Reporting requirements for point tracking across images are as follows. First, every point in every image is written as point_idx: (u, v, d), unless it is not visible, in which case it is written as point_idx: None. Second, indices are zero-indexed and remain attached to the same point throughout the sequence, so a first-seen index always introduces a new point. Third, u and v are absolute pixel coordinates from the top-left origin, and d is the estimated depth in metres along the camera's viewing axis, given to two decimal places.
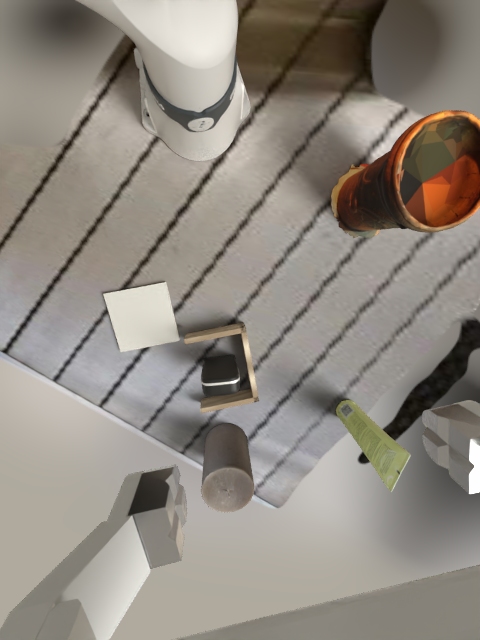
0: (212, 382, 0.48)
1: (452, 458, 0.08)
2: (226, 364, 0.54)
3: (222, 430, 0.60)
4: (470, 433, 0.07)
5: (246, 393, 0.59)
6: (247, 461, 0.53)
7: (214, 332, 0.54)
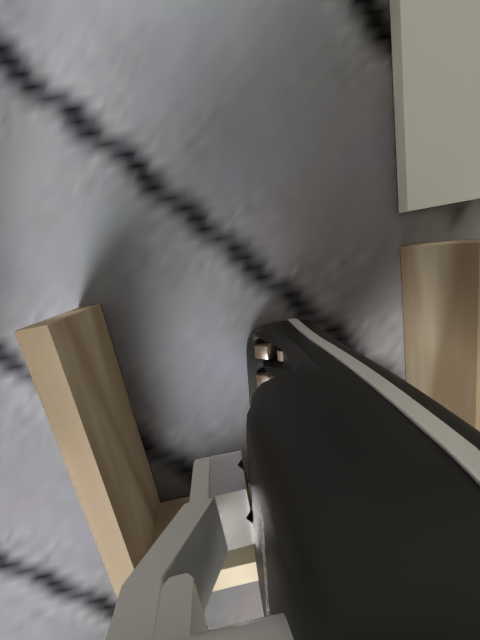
0: None
1: None
2: None
3: None
4: None
5: (147, 514, 0.13)
6: None
7: None
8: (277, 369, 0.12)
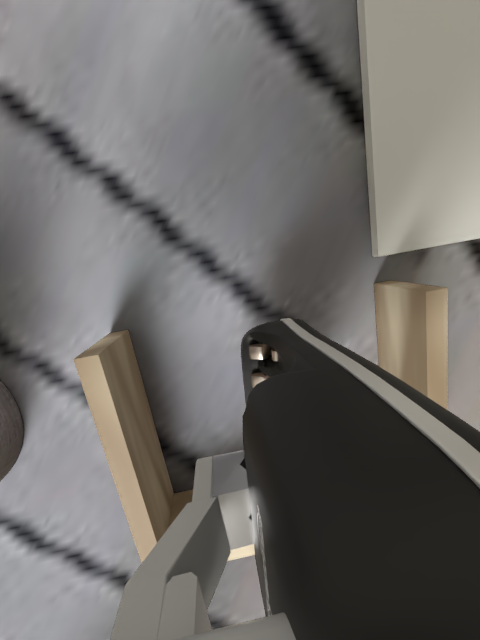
0: None
1: None
2: None
3: None
4: None
5: (165, 502, 0.16)
6: None
7: None
8: (272, 369, 0.12)
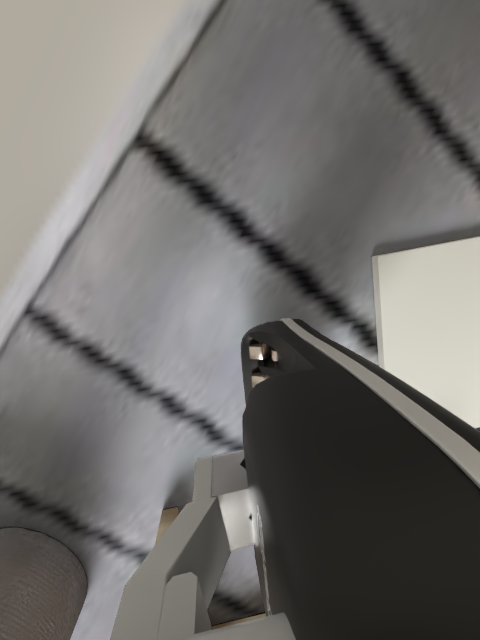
0: None
1: None
2: None
3: (64, 616, 0.16)
4: None
5: None
6: None
7: None
8: (272, 369, 0.12)
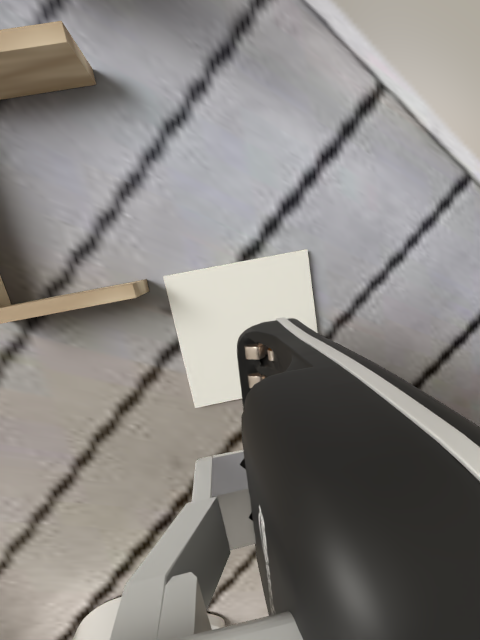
0: None
1: None
2: None
3: None
4: None
5: None
6: None
7: None
8: (268, 369, 0.12)
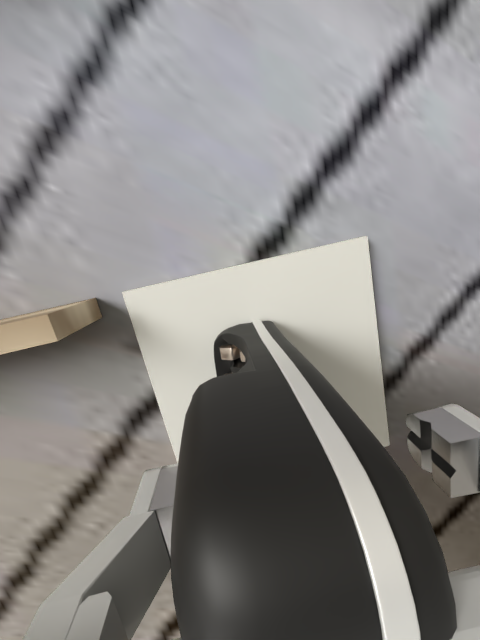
0: None
1: (434, 462, 0.08)
2: None
3: None
4: (451, 437, 0.07)
5: None
6: None
7: None
8: (240, 369, 0.12)
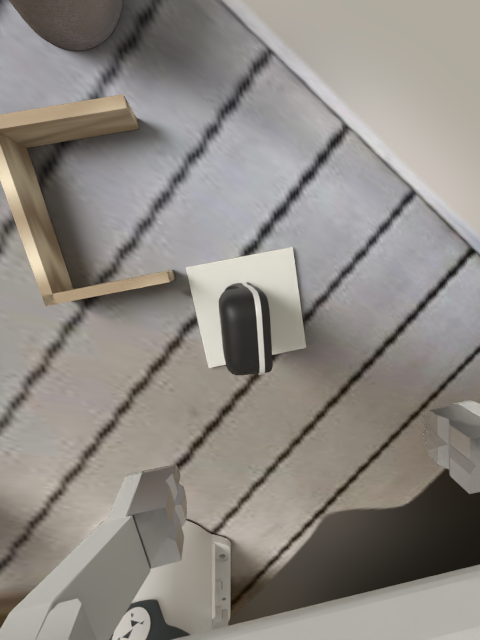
0: (262, 321, 0.21)
1: (452, 458, 0.08)
2: None
3: (71, 28, 0.23)
4: (470, 433, 0.07)
5: (26, 138, 0.25)
6: None
7: None
8: None
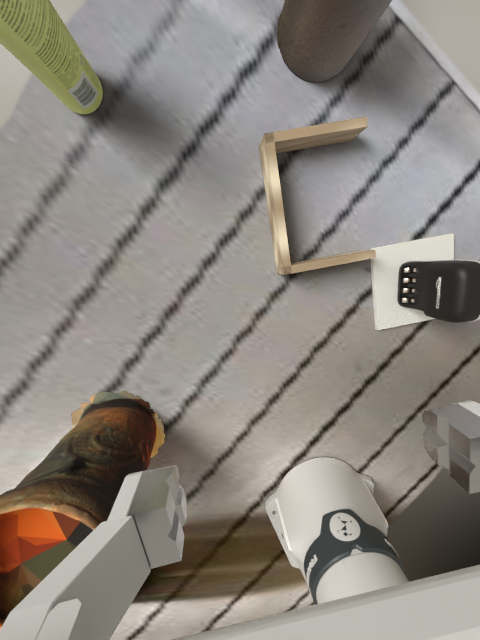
0: None
1: (452, 458, 0.08)
2: None
3: (329, 68, 0.32)
4: (470, 433, 0.07)
5: (279, 148, 0.34)
6: None
7: None
8: (414, 274, 0.38)
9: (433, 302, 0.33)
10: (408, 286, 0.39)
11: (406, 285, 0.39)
